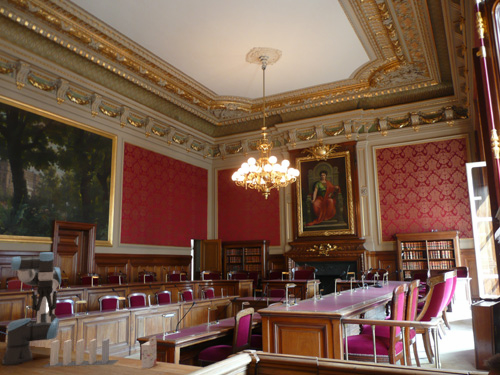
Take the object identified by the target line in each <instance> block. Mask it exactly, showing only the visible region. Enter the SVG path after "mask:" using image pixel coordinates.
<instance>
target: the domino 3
mask: <svg viewBox="0 0 500 375" xmlns="http://www.w3.org/2000/svg"><path fill="white" fill-rule="evenodd" d="M75 349H76V350H75V351H76V352H75V361H76V365H79V364H81V363H83V362H84V361H85V359H84V356H85V338H81V339H79V340H77V341H76V346H75Z"/></svg>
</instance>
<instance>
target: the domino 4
mask: <svg viewBox="0 0 500 375" xmlns="http://www.w3.org/2000/svg"><path fill="white" fill-rule="evenodd" d="M97 340H98V339H97V338H93V339H91V340H89V346H88V347H89V348H88V352H89V353H88V361H89V364H93V363H95V362H96V361H97V349H98V348H97V345H98V344H97Z"/></svg>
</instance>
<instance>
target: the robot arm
mask: <svg viewBox="0 0 500 375" xmlns="http://www.w3.org/2000/svg"><path fill="white" fill-rule="evenodd" d="M54 264H55V254H54V252H51V251H50V252H48V251H47V252H40V253H39V255H36V256H35V255H32V256H13V257H11V262H10V268H11V271H17V273H18V274H17V278H18V279H19V281H20V282H21V283H23V284H25V285H27V286H31V287H37V289H36V290H35V291H32V292H31V294H32V302H31V303H32V308H31V310H32V311H35V319H33V320H32V318H31V317H25V318H19V319H17V320H16V319H15V320H12V321H10V322H9V323H8V325H7V339H6V340H7V341H6V348H5V352H4V354H3V357H2V362H1V363H2V365H5V366H10V365H11V366H13V365H21V364H24V363H28V362H30V361H32V360H33V353H32V350H31V349H32V348H31V345H30V344H31V342H38V341H49V340H55V339H56V338H57V337H58V333H59V327H60V318H58V317H57V315H56V314H55V312H56V311H55V310H56V309H57V302H58V301H57V297H58V296H57V295H58V293H59V291H58V290H57V288H58V287H59V285H62V273H61V272H62V271H61V268H60V267H58V266H54Z"/></svg>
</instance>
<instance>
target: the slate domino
mask: <svg viewBox="0 0 500 375" xmlns="http://www.w3.org/2000/svg"><path fill="white" fill-rule="evenodd" d="M101 360H102V364H105V363H107V362H108V361H109V360H110V338H108V337H107V338H105V339H103V340H102V343H101Z"/></svg>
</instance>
